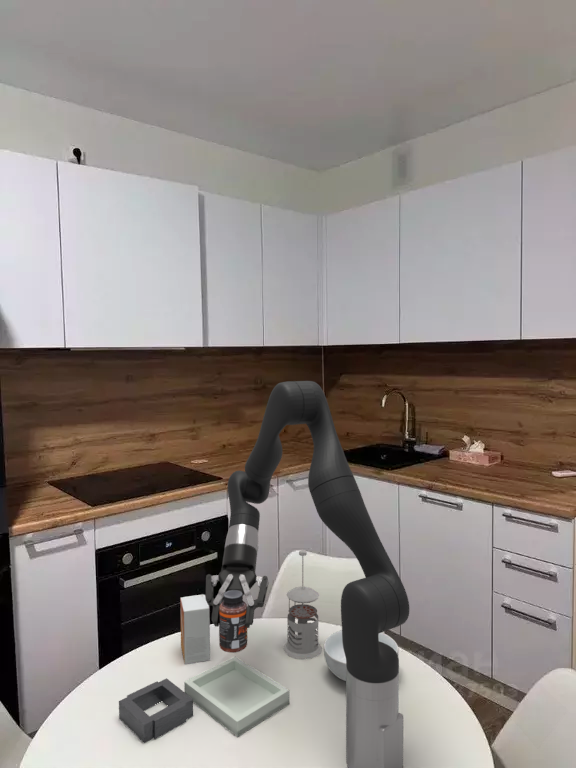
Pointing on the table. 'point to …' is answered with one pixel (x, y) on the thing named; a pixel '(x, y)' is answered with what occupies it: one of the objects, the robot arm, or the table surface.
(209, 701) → the tray
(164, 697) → the collar
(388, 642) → the cereal bowl
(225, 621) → the supplement bottle
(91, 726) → the table surface
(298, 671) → the table surface
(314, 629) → the french press
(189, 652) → the small box
